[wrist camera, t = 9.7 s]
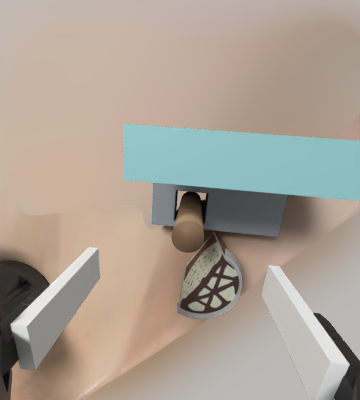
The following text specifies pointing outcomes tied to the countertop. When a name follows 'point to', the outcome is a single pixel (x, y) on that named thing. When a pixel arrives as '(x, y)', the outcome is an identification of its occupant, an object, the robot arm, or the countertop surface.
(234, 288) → the food container
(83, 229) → the countertop surface
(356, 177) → the socket
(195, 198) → the peg
